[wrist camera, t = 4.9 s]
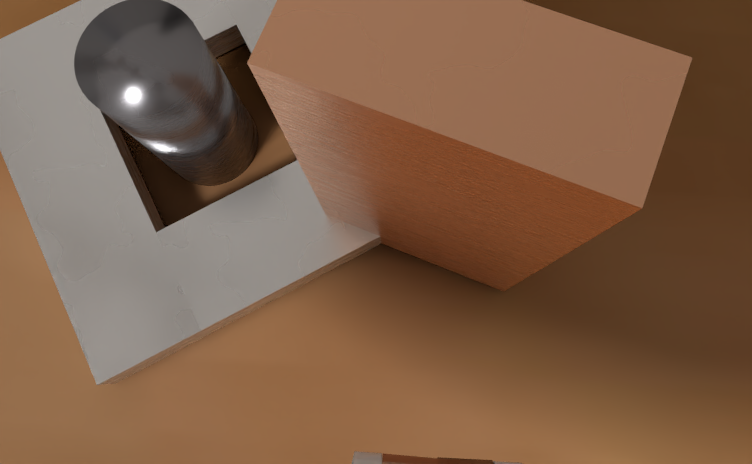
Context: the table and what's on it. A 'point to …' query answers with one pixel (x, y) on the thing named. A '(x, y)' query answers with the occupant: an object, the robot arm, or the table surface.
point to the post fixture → (166, 90)
